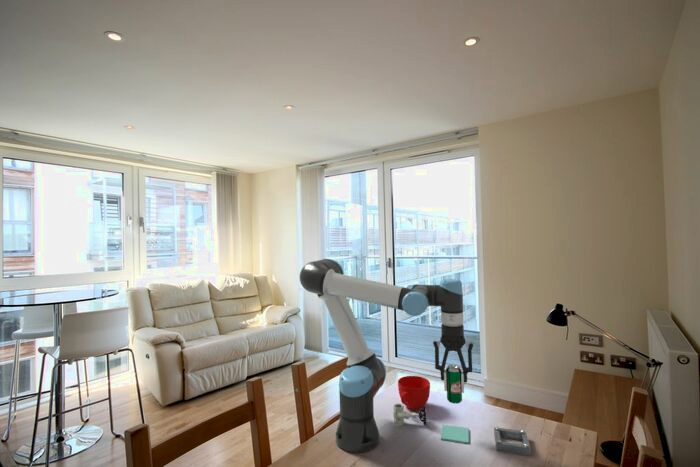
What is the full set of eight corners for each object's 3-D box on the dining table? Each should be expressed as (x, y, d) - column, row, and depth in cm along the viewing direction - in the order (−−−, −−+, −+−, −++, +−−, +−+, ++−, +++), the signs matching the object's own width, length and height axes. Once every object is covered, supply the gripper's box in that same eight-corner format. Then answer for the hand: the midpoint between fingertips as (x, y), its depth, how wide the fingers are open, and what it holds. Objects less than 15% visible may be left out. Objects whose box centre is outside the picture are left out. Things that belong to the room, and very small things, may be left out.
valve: (393, 428, 131) (426, 429, 129) (392, 409, 131) (426, 411, 129) (393, 418, 137) (425, 419, 136) (393, 401, 137) (424, 402, 136)
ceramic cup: (387, 412, 142) (387, 387, 142) (407, 396, 155) (406, 373, 155) (418, 422, 134) (417, 395, 134) (435, 404, 148) (435, 379, 148)
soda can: (452, 405, 122) (451, 370, 122) (444, 398, 127) (443, 365, 127) (465, 402, 123) (464, 368, 123) (456, 396, 128) (455, 363, 128)
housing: (496, 450, 115) (496, 441, 115) (494, 434, 125) (493, 425, 125) (530, 455, 112) (530, 446, 112) (525, 438, 122) (525, 429, 122)
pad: (440, 439, 122) (440, 438, 122) (442, 426, 131) (442, 424, 131) (468, 443, 120) (468, 442, 120) (468, 429, 128) (468, 428, 128)
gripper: (424, 325, 124) (426, 392, 124) (480, 327, 119) (482, 398, 119) (427, 320, 132) (428, 383, 132) (479, 322, 126) (481, 388, 126)
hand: (454, 390), depth 125 cm, fingers closed on soda can, 5 cm apart
